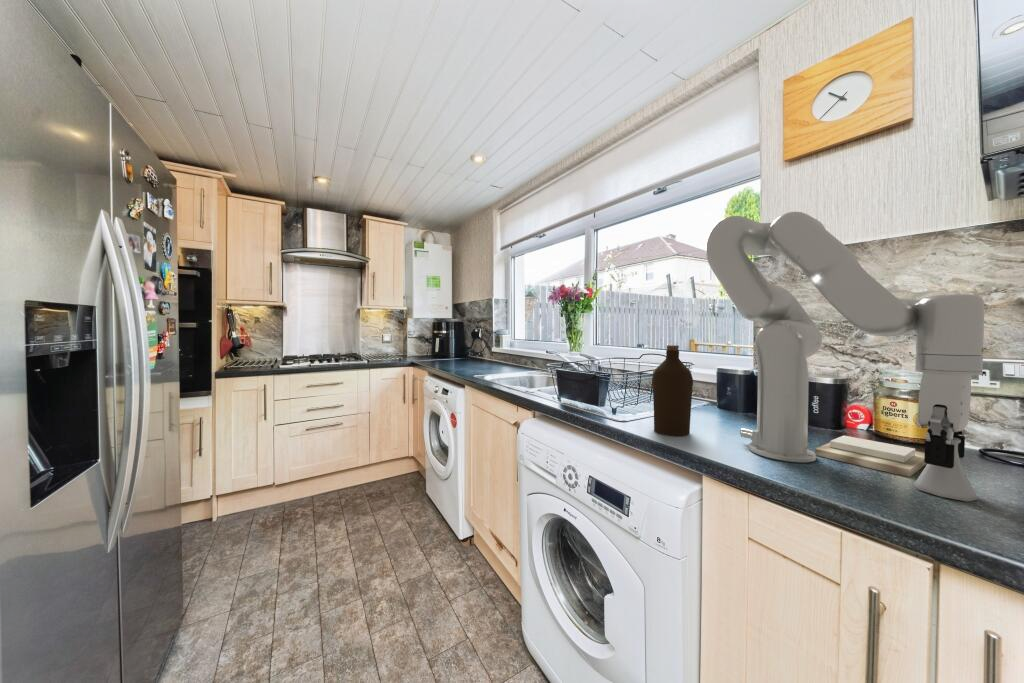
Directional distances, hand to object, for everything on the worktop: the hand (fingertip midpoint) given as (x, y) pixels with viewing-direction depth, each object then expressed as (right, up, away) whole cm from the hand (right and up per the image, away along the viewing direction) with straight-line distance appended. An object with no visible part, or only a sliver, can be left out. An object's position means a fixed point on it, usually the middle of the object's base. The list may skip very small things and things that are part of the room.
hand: (944, 460), depth 63 cm
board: (+5, -5, +18) cm, 20 cm away
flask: (0, -6, 0) cm, 6 cm away
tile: (+9, -3, +20) cm, 22 cm away
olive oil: (-31, -5, +39) cm, 50 cm away
